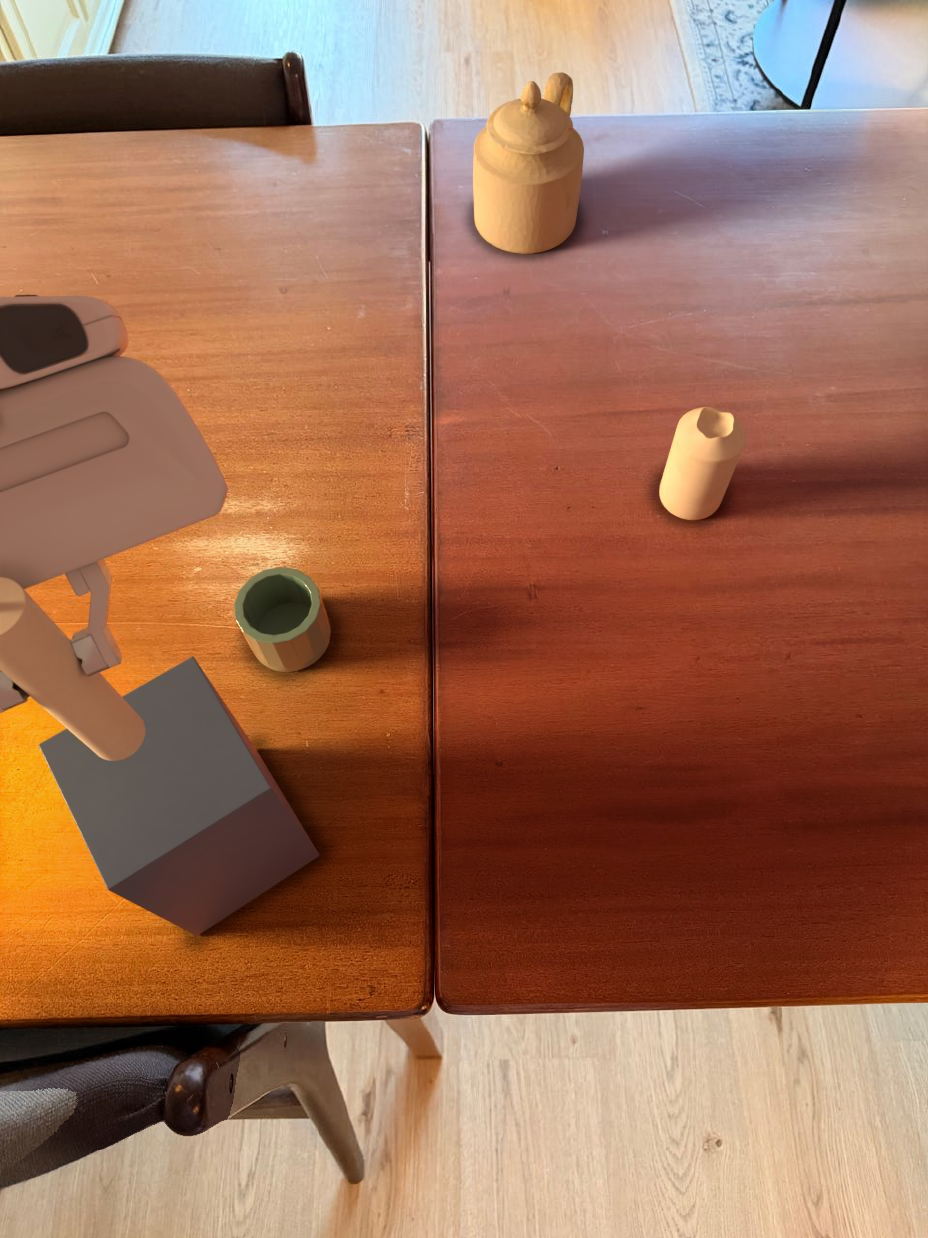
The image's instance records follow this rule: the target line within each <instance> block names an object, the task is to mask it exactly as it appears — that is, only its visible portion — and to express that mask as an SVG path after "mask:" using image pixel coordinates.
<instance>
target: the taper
mask: <svg viewBox="0 0 928 1238" xmlns="http://www.w3.org/2000/svg"><path fill="white" fill-rule="evenodd" d="M81 665H82V659H80V658H78V657H76V655H75V653H74V650H73V648H72V646H71V639H70V638H69V637H68V636H67V634H65V633H64V631H62V629H61V628H60V627H59V626H58V625H57V624H56V623H55V621H54V620H52V618H51V617H50V616H49V615H48V614H47V613H46V612H45V611H44V609H43V608H42V607H41V606H40V605H39V604H38V603H37V602H36V601H35V600H34V599H33V598H32V596H31V595H30V594H29V593H28V592H27V591H26V589H23V588H22V587H21V585H20V584H18V583H17V582H16V581H14V580H12V579H9V578H5V577H0V670H1V671H2V672H3V673H4V674H5V675H6V676H8V677H9V678H10V679H11V680H12V681H13V682H14V683H16V684H17V685H18V686H19V687H20V688H21V689H22V690H24V691H25V692H26V693H27V694H28V695H29V696H30V698H31V699H33V700H34V701H35V702H36V703H37V704H39V706H41V707H42V708H43V709H44V710H45V711H46V712H47V713H48V714H50V715H51V716H52V717H53V718H54V719H55V720H57V722H59V723H60V724H61V725H62V726H64V727H65V729H66V728H67V729H68V730H69V731H71V732H72V733H73V734H74V735H75V736H76V737H77V738H79V739H80V740H81V741H82V742H83V743H84V744H85V745H87V746H88V747H89V748H90V749H91V750H92V751H93V752H95V753H96V754H97V755H98V756H99V757H101V758H103V759H105V760H109V761H117V760H122V759H125V758H127V757H129V756H131V755H132V754H134V753H135V752H136V751H137V750H138V749H139V747H140V746H141V744H142V743H143V740H144V737H145V724H144V722H143V720H142V718H141V717H140V716H139V715H138V714H137V713H136V712H135V711H134V709H133V708H132V707H131V706H130V705H129V704H128V703H127V702H126V701H125V700H124V698H123V697H122V696H123V695H121V694H120V693H119V692H118V691H117V689H116V688H115V687H114V686H113V685H112V683H110V682H109V681H108V680H107V679H106V678H105V677H104V675H102V672H99V673H96V674H94V675H91V676H89V677H88V676H87V675H86V674H85V672H84V670H83V668H82V667H81Z"/></svg>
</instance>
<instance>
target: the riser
mask: <svg viewBox="0 0 928 1238" xmlns="http://www.w3.org/2000/svg"><path fill="white" fill-rule="evenodd" d="M200 665H201V664H199V662H198V661H197V660H196V658H195V657H194V656H190V657H189V658H187V659H185V660H183V661H181V662H180V663H178V664H177V665H175V666H173V667H171V668H169V669H167V670H166V671H164V672H163V673H161V674H159V675H158V676H156V677H154V678H151V680H149V681H146V682H145V683H144V684H141V685H140V686H138V687H137V688H134V689H133V690H131V691H130V692H128V693H126V694H124V695H121V696H122V697H123V698H124V700H125V701H126V702H127V703H128V704H129V705H130V706H131V707H132V708H133V709H134V711H135V712H136V713H137V714H138V715H139V716H140V717H141V718H142V720H143V722H144V724H145V737H144V740H143V743H142V744H141V746H140V747H139V749H138V750H137V751H136V752H135V753H134V754H132V755H131V756H129V757H127V758H125V759H122V760H117V761H109V760H105V759H103V758H101V757H99V756H98V755H97V754H96V753H95V752H93V751H92V750H91V749H90V748H89V747H88V746H87V745H85V744H84V743H83V742H82V741H81V740H80V739H79V738H77V737H76V736H75V735H74V734H73V733H72V732H71V731H69V730H68V729H67V728H66V727H65V729H63V730H61V731H59V732H58V733H56V734H54V735H53V736H50V737H49V738H47V739H46V740H44V741H41V742H40V743H39V744H38V748H39V749H40V752H41V753H42V755H43V758H44V760H45V762H46V764H47V766H48V769H49V770H50V772H51V774H52V777H53V779H54V780H55V783H56V785H57V787H58V789H59V791H60V793H61V795H62V798H63V799H64V802H65V803H66V806H67V809H69V813H70V814H71V816H72V819H73V820H74V822H75V824H76V827H77V829H78V831H79V833H80V835H81V837H82V839H83V841H84V843H85V845H86V848H87V849H88V852H89V854H90V856H91V858H92V860H93V862H94V864H95V867H96V868H97V870H98V872H99V874H100V877H101V879H102V880H103V883H104V885H105V887H106V889H107V891H109V892H111V893H113V894H115V895H117V896H118V897H121V898H122V899H125V900H126V901H128V902H130V903H132V904H135V905H136V906H138V907H140V908H142V909H143V910H146V911H147V912H149V913H151V914H153V915H155V916H157V917H159V918H160V919H162V920H164V921H166V922H169V923H171V924H172V925H174V926H176V927H179V928H180V929H182V930H184V931H186V932H188V933H189V934H192V935H194V936H196V937H198V936H200V935H201V934H203V933H204V932H206V931H207V930H209V929H210V928H212V927H214V926H215V925H217V924H218V923H220V922H221V921H223V920H224V919H226V918H228V917H229V916H230V915H232V914H233V913H235V912H236V911H238V910H239V909H241V908H243V907H244V906H245V905H247V904H249V903H250V902H252V901H253V900H255V899H256V898H258V897H260V896H261V895H263V894H264V893H265V892H267V891H268V890H270V889H271V888H273V887H274V886H276V885H277V884H280V883H281V882H282V881H284V880H285V879H287V878H288V877H290V876H291V875H293V874H295V873H296V872H298V871H299V870H301V869H302V868H303V867H305V866H306V865H308V864H309V863H311V862H313V861H314V860H316V859H317V858H319V857H320V853H319V852H318V850H317V848H316V846H315V845H314V843H313V842H312V840H311V838H310V837H309V835H308V833H307V832H306V830H305V829H304V827H303V825H302V823H301V822H300V819H299V818H298V817H297V815H296V814H295V812H294V810H293V808H292V807H291V805H290V803H289V802H288V800H287V798H286V796H285V794H284V793H283V791H282V790H281V788H280V787H279V785H278V783H277V781H276V779H275V778H274V777H273V775H272V773H271V772H270V770H269V768H268V767H267V764H265V762H264V760H263V758H262V756H261V755H260V754H259V751H258V750H257V748H256V747H255V745H254V744H253V742H252V741H251V739H250V737H249V736H248V734H247V733H246V732H245V730H244V729H243V727H242V726H241V724H240V723H239V722H238V720H237V718H236V717H235V716H234V714H233V713H232V711H231V710H230V708H229V707H228V705H227V703H225V701H224V699H223V698H222V697H221V695H220V694H219V692H218V690H217V689H216V688H215V686H214V685H213V683H212V682H211V680H210V679H209V677H208V676H207V674H206V672H205V671H204V670H203V668H202V667H201V666H200Z"/></svg>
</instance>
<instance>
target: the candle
mask: <svg viewBox="0 0 928 1238" xmlns="http://www.w3.org/2000/svg"><path fill="white" fill-rule="evenodd" d="M746 441H747V432H746V429H745V426H744V424H743V423H742V422H741V420H740V419H739V418H738V417H736V416H735V415H734V414H733V413H731V412H729V411H727V410H726V409H723V408H720V407H715V406H701V407H697V408H694V409H691V410H689V411H687V412H686V413H685V414H683V415H682V417H680V419H679V421H678V423H677V426H676V429H675V432H674V436H673V440H672V442H671V447H670V450H669V453H668V457H667V460H666V463H665V467H664V470H663V473H662V477H661V479H660V484H659V499H660V502H661V504H662V506H663V507H664V508H665V509H666V511H668V512H669V513H670V514H672V515H673V516H676V517H678V518H680V519H683V520H686V521H688V520H689V521H700V520H705V519H706V518H709V517H710V516H712V515H713V514H714V513H716V511H717V510H718V509H719V507H720V505H721V503H722V502H723V499H724V497H725V494H726V492H727V489H728V487H729V485H730V482H731V479H732V477H733V474H734V472H735V470H736V467H737V464H738V462H739V459H740V457H741V455H742V453H743V449H744V447H745V445H746Z"/></svg>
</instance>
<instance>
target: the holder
mask: <svg viewBox="0 0 928 1238" xmlns="http://www.w3.org/2000/svg"><path fill="white" fill-rule="evenodd" d="M233 609H234V610H233V611H234V619H235V622H236V624H237V626H238V628H239V630H240V631H241V633H242V635H243V637H244V639H245V640H246V643H247V645H248V647H249V648H250V649H251V651H252V654H254V656H255V658H256V659H257V660H258V661H259V662H260V664H262V665H263V666H264V667H266V668H268V669H270V670H273V671H277V672H284V673H291V672H297V671H301V670H303V669H306V668H309V667H310V666H311V665H313V664H315V663H316V662H317V661H318V660H320V658H321V657H322V656H323V655H324V653H326V650H327V649H328V647H329V644H330V641H331V635H332V633H331V632H332V631H331V630H332V629H331V625H330V621H329V616H328V613H327V610H326V607H325V603H324V601H323V597H322V594H321V592H320V590H319V587H318V586H317V584H316V582H315V581H314V580H313V578H312V577H311V576H310V575H308V574H306V573H304V572H303V571H301V570H299V569H297V568H292V567H285V566H277V567H272V568H267V569H263V570H261V571H260V572H258V573H255V574H254V575H252V576H251V577H250V578H248V580H246V581H245V583H244V584H243V585H242V587H240V589H238V592H237V595H236V598H235V601H234V603H233Z"/></svg>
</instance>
